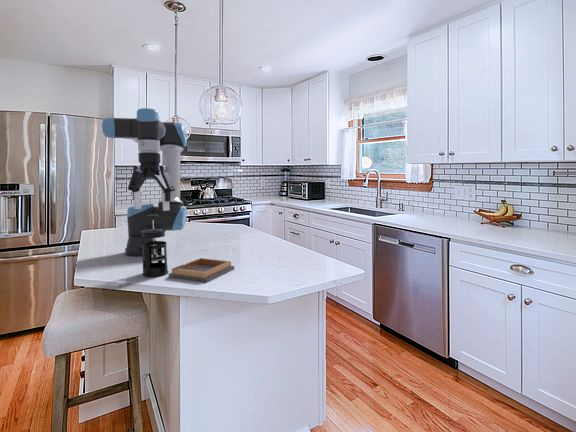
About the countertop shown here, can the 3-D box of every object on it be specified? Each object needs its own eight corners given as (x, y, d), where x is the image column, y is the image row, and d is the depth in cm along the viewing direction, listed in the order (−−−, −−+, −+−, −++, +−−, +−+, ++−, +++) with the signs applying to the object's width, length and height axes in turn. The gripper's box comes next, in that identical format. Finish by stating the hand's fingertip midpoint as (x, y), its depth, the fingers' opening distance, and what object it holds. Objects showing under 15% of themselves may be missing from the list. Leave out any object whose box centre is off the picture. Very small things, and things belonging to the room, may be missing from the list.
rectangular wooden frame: (168, 277, 133) (168, 268, 133) (199, 264, 151) (199, 257, 150) (206, 282, 127) (206, 273, 127) (234, 269, 144) (234, 261, 144)
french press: (150, 269, 143) (147, 212, 140) (172, 270, 142) (170, 213, 140) (135, 278, 132) (132, 216, 129) (160, 279, 131) (157, 217, 128)
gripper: (115, 152, 132) (118, 209, 135) (169, 151, 123) (171, 212, 125) (131, 153, 139) (134, 207, 142) (183, 152, 130) (185, 210, 132)
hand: (151, 209), depth 134 cm, fingers open, 13 cm apart
